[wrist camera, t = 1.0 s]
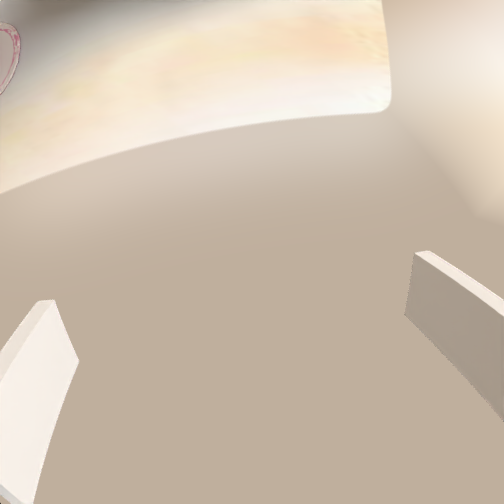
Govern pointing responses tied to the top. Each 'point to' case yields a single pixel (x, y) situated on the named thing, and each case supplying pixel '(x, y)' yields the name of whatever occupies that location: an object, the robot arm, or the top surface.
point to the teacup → (8, 53)
